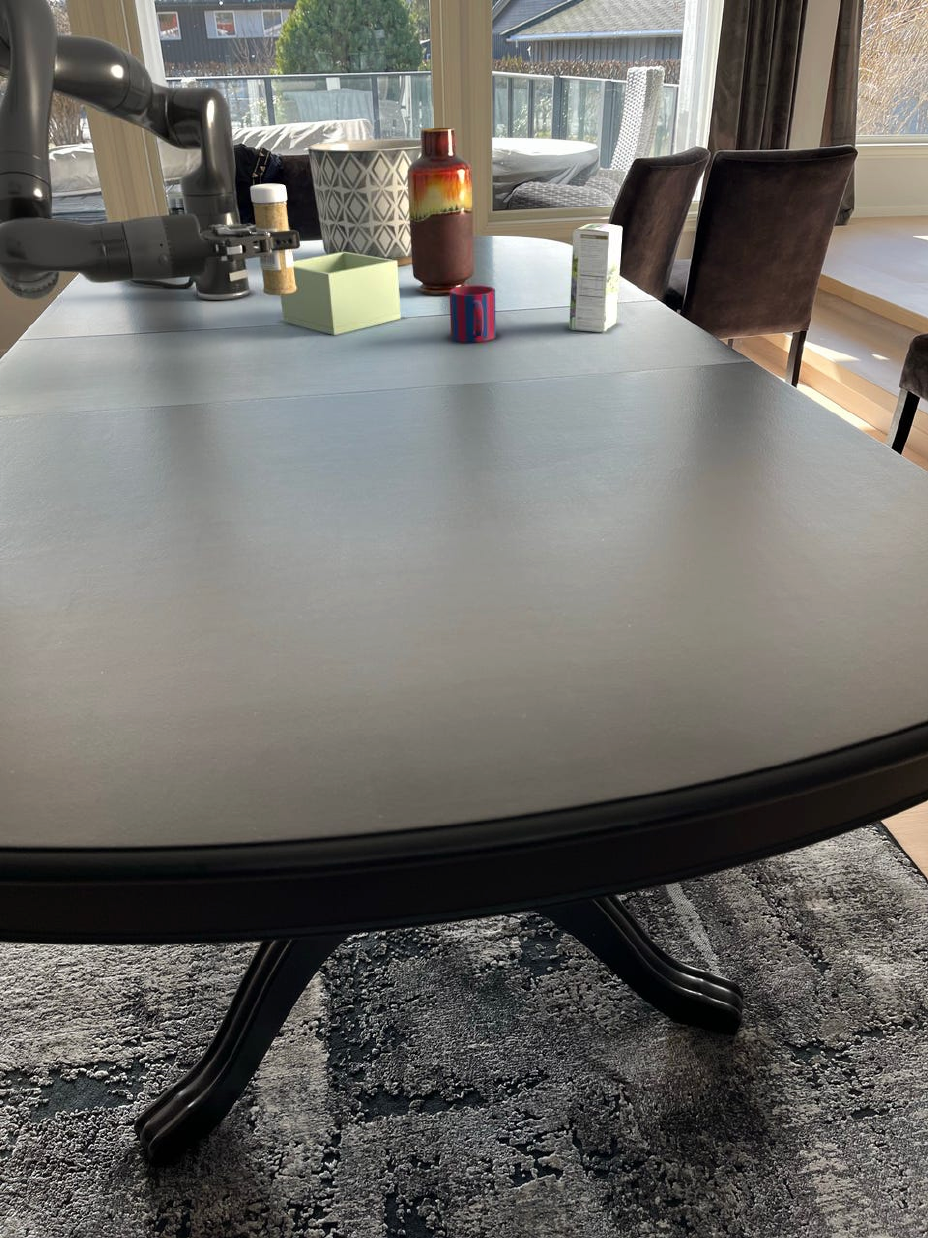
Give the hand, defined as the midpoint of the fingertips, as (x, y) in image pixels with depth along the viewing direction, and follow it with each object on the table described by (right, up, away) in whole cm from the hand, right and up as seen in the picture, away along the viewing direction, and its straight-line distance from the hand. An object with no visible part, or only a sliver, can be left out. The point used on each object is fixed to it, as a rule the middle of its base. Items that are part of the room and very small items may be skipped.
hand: (293, 236), depth 126 cm
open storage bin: (+3, -2, +28) cm, 28 cm away
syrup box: (+43, -6, +19) cm, 47 cm away
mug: (+24, -10, +15) cm, 30 cm away
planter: (+5, +24, +72) cm, 76 cm away
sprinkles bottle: (-2, -7, +3) cm, 8 cm away
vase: (+19, +8, +45) cm, 50 cm away
